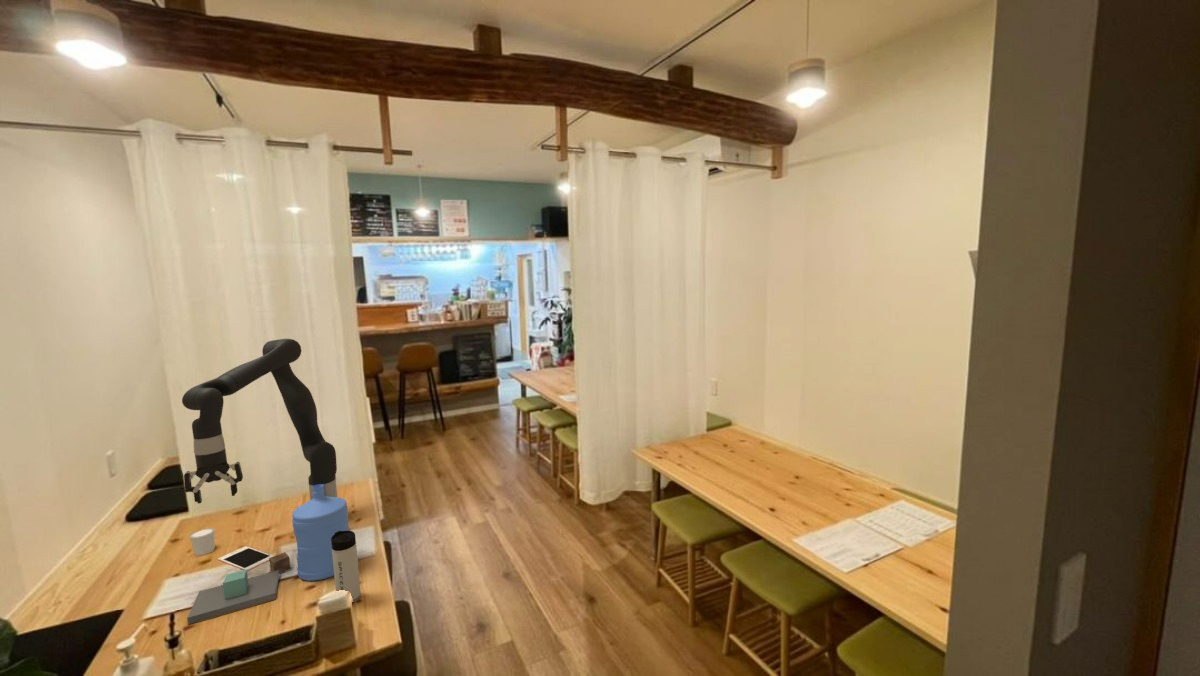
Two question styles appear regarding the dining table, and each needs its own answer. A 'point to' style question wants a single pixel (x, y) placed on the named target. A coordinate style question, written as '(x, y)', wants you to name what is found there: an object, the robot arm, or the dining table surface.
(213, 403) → the robot arm
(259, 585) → the slate board
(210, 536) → the white cylinder
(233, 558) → the cell phone
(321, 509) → the water jug
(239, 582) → the teal cube
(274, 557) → the walnut block
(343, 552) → the travel mug
